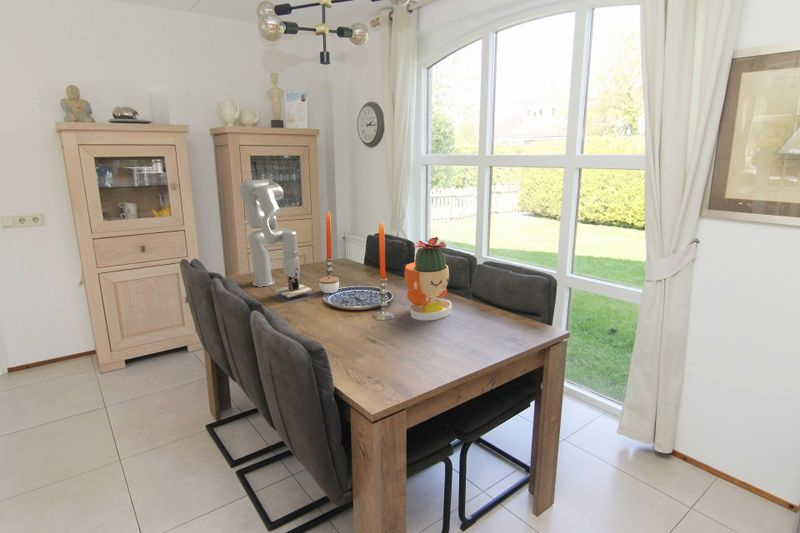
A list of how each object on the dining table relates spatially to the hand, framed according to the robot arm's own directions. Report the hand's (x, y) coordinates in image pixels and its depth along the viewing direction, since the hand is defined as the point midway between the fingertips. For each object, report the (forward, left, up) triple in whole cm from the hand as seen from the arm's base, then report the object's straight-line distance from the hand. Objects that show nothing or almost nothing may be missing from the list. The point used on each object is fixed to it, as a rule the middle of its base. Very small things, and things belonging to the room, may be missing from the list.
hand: (293, 287), depth 242 cm
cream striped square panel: (+1, 0, -5) cm, 5 cm away
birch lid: (0, 0, -2) cm, 2 cm away
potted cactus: (+69, +31, -5) cm, 76 cm away
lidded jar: (+10, +16, -5) cm, 19 cm away
